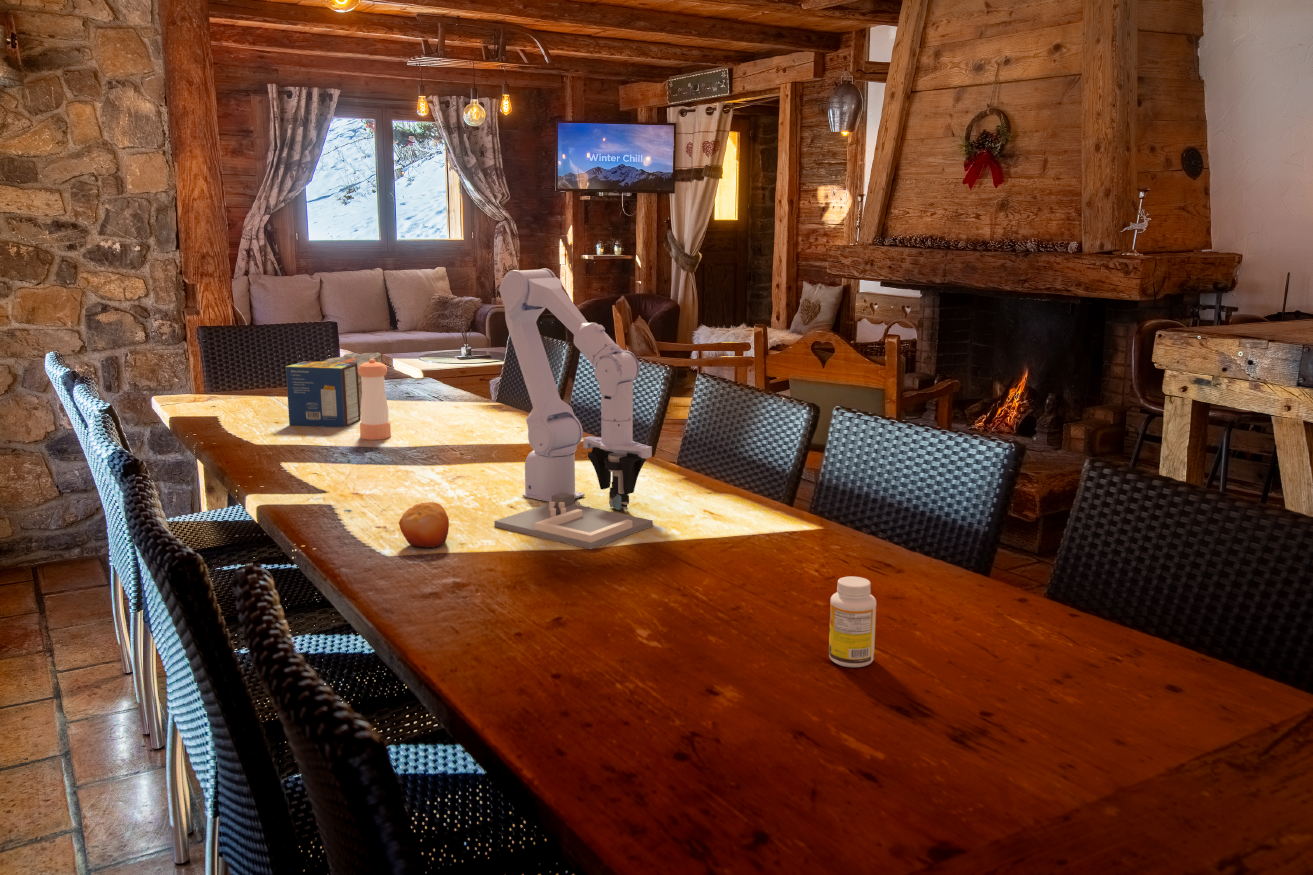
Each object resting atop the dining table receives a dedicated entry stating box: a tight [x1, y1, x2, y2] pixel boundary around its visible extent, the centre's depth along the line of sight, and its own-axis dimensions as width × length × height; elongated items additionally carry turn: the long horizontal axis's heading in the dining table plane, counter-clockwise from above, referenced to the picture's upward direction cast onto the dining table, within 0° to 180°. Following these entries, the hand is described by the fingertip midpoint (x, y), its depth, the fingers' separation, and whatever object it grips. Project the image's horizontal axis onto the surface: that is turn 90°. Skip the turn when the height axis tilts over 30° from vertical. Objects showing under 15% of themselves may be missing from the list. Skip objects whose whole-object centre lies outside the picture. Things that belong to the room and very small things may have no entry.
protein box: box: [285, 360, 361, 428], centre depth 283 cm, size 10×15×16 cm
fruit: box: [398, 501, 450, 549], centre depth 180 cm, size 8×8×8 cm
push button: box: [604, 452, 630, 511], centre depth 200 cm, size 7×5×10 cm
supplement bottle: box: [828, 575, 877, 668], centre depth 133 cm, size 6×6×10 cm
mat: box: [493, 503, 654, 550], centre depth 191 cm, size 22×17×1 cm
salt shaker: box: [358, 359, 392, 441], centre depth 265 cm, size 7×7×19 cm
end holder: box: [535, 509, 632, 543], centre depth 186 cm, size 12×11×1 cm
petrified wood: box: [321, 352, 383, 409], centre depth 308 cm, size 19×17×15 cm
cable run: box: [548, 493, 576, 517], centre depth 198 cm, size 4×11×2 cm, turn 175°
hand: (616, 490), depth 201 cm, fingers closed on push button, 5 cm apart
